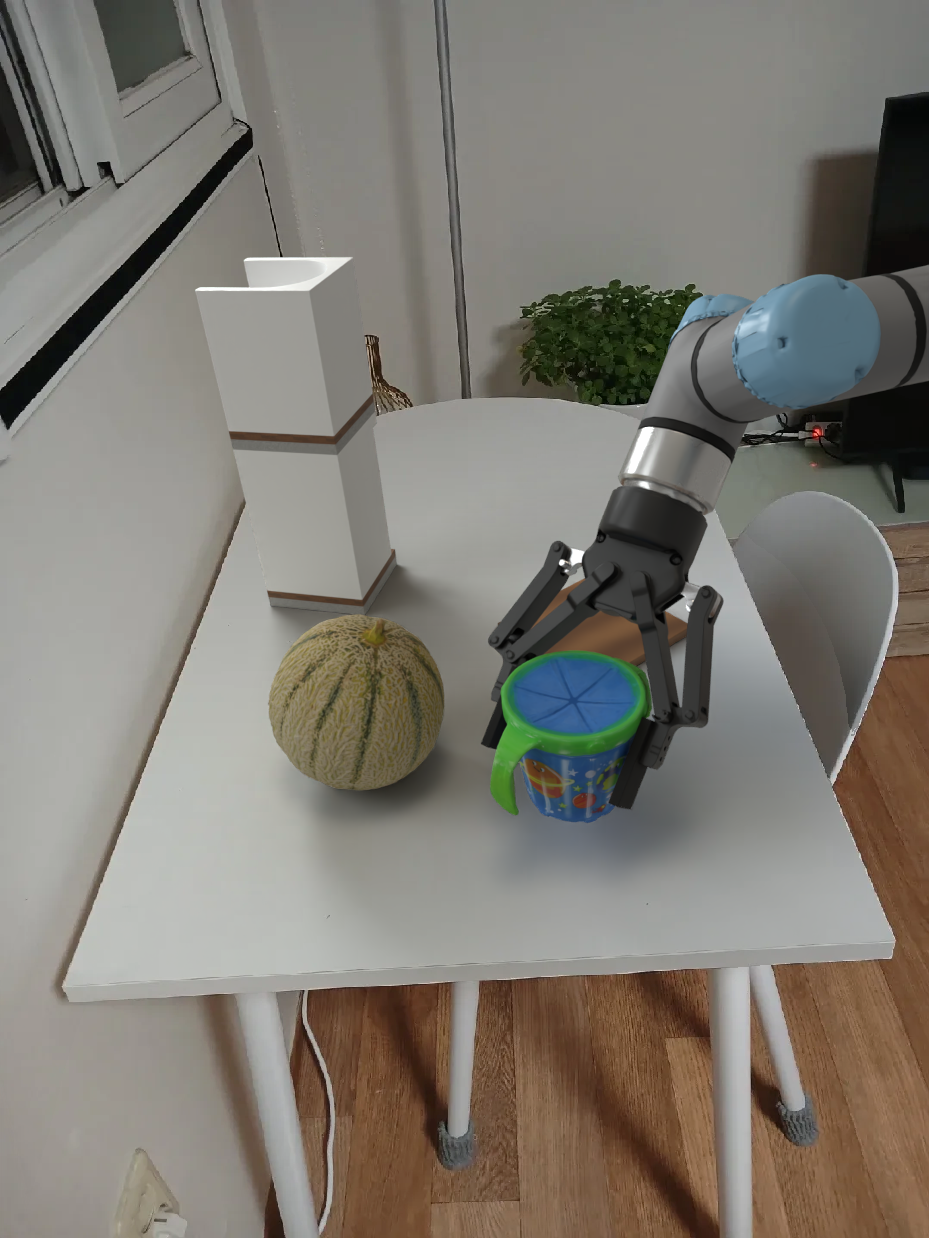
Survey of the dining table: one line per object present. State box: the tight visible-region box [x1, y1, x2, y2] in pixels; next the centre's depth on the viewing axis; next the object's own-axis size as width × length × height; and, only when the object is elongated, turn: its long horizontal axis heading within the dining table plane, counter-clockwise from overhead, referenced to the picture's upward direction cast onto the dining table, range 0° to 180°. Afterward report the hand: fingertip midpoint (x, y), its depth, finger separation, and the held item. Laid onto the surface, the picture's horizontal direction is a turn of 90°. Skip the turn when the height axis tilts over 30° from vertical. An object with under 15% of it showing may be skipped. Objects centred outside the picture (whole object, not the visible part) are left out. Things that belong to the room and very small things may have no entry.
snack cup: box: [489, 650, 653, 824], centre depth 72 cm, size 16×10×10 cm
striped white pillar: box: [194, 256, 398, 616], centre depth 100 cm, size 11×11×35 cm
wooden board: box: [497, 577, 688, 667], centre depth 98 cm, size 14×14×1 cm
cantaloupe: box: [267, 614, 446, 791], centre depth 80 cm, size 15×15×15 cm
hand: (553, 775), depth 71 cm, fingers closed on snack cup, 10 cm apart
